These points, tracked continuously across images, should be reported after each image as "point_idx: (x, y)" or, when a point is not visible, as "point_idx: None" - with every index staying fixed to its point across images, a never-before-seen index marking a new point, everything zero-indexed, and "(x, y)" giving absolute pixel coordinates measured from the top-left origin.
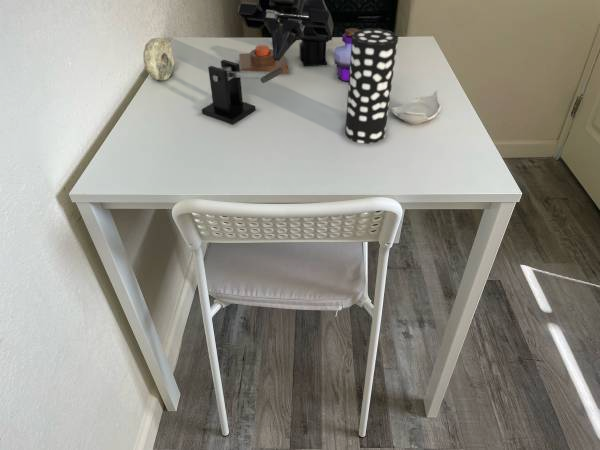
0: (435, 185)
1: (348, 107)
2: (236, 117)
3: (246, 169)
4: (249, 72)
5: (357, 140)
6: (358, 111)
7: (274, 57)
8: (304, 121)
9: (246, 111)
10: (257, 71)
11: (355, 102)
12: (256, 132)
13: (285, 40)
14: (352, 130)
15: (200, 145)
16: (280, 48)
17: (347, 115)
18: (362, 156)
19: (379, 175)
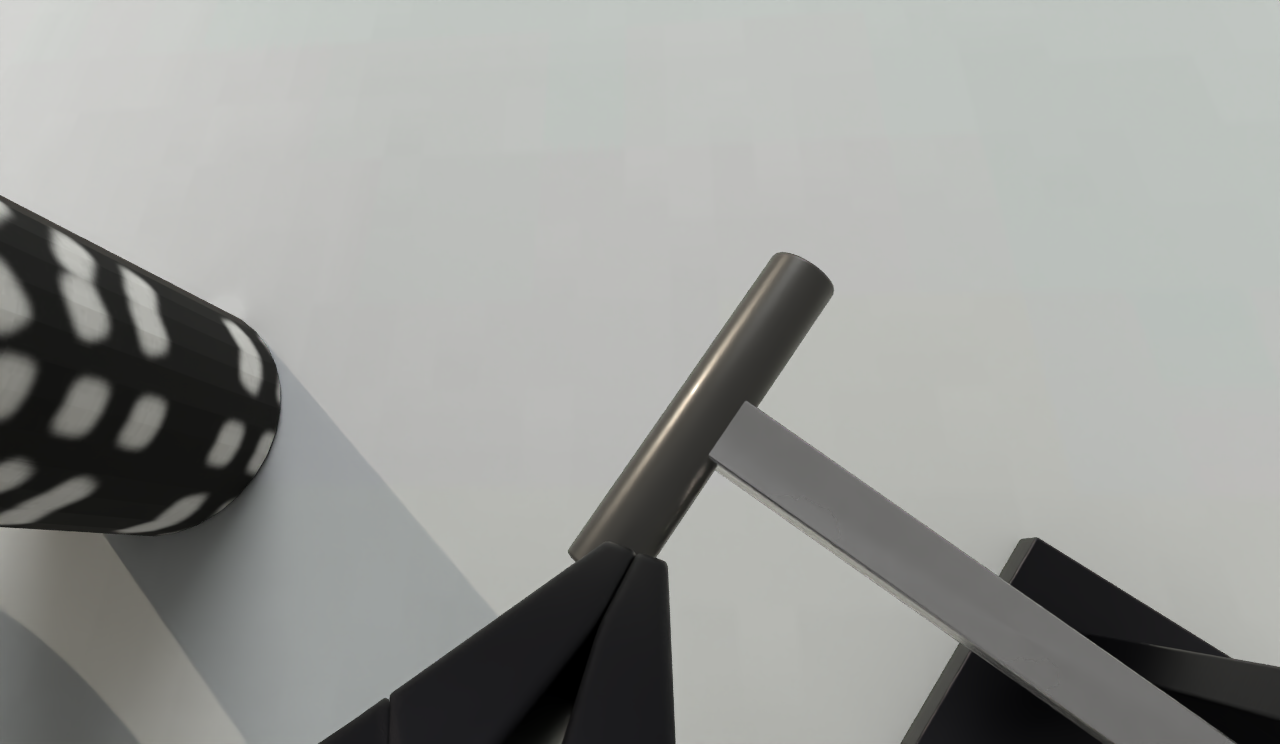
0: (24, 6)
1: (138, 325)
2: (1012, 580)
3: (838, 61)
4: (1015, 613)
5: (230, 314)
6: (87, 240)
7: (654, 559)
8: (508, 580)
9: (949, 684)
10: (905, 587)
11: (52, 234)
12: (830, 433)
13: (352, 726)
14: (220, 318)
15: (1176, 274)
16: (519, 634)
17: (188, 356)
18: (248, 193)
19: (217, 54)
